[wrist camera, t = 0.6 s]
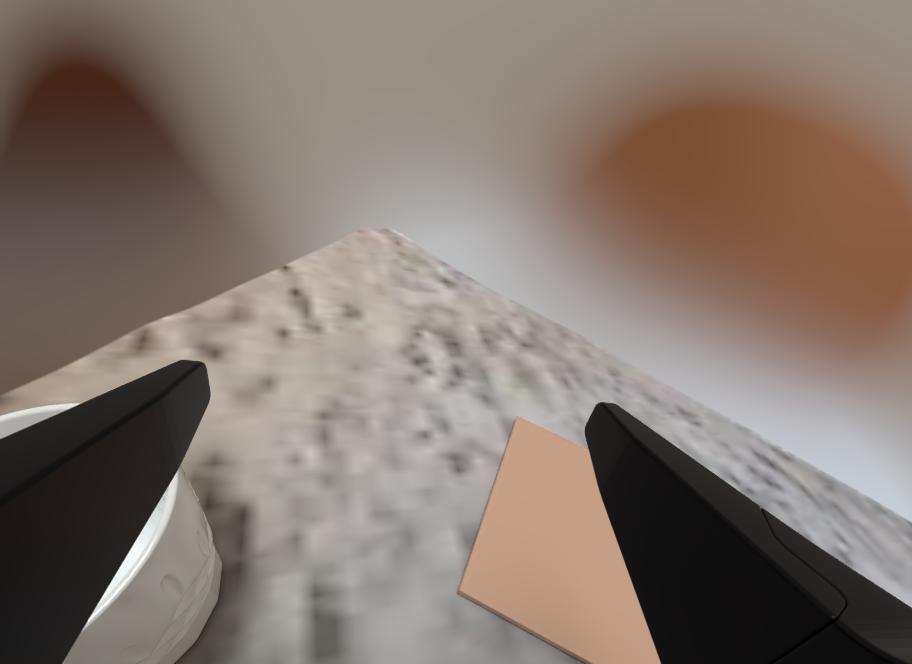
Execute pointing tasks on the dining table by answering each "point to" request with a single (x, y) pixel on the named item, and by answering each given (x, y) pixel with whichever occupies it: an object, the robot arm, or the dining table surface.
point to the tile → (555, 554)
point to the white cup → (149, 578)
